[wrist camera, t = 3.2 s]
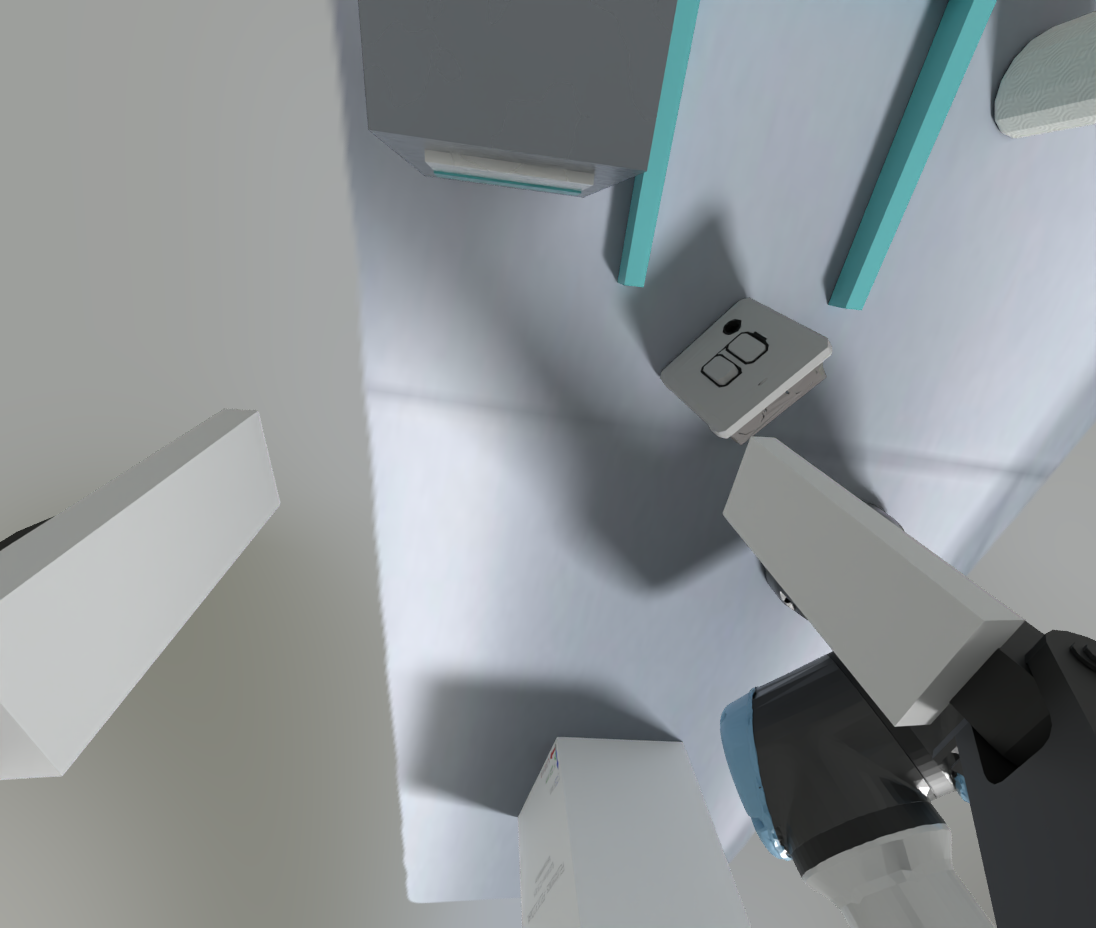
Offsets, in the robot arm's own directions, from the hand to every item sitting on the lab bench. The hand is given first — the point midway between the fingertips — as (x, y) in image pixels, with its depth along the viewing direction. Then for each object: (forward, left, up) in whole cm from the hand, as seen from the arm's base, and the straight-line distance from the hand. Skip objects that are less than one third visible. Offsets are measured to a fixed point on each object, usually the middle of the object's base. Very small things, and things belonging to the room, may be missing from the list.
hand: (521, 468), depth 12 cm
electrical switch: (-19, +2, -25) cm, 31 cm away
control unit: (0, -12, -24) cm, 27 cm away
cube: (-19, +74, -25) cm, 80 cm away
